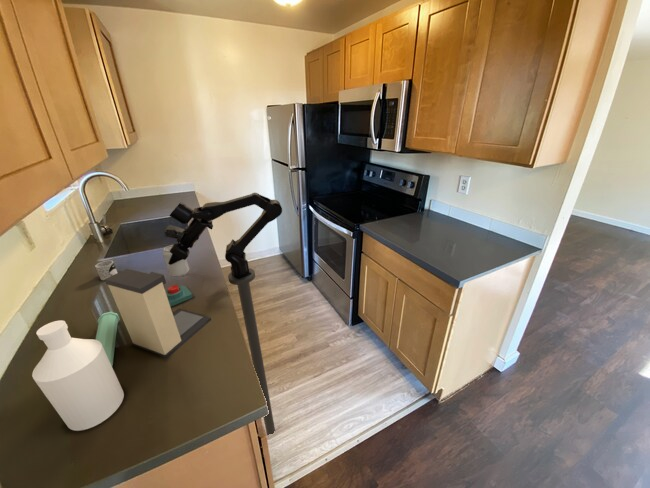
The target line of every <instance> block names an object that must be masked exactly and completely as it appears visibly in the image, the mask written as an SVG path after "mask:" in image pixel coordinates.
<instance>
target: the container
mask: <svg viewBox="0 0 650 488" xmlns="http://www.w3.org/2000/svg"><path fill="white" fill-rule="evenodd" d="M120 320H121V319H120V316H119V314H118V313H116V312H113V311H107V312H104V313H101V314H100V315H99V317H98V319H97V323H98V326H97V330H96V335H95V339H94V340H98V341H100V343H101V344H102V346H103V348H104V350H105V353H106V355H107V357H108V359H109V361H110V364H111V366H112V367H113V364H114V357H115V347H116V339H117V332H118V323H119V322H120Z"/></svg>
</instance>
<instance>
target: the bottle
mask: <svg viewBox="0 0 650 488" xmlns="http://www.w3.org/2000/svg"><path fill="white" fill-rule="evenodd" d="M68 328H69V326H68V324H67V322H66V321H65V320H62V319H61V320H54V321H51V322H49V323H46V324H44V325H43V326H41V327H40V328H38V329H37V330H36V335H37V337H38V339H39V340H40V341H43V343H44V344H45V346H46V347H47V349H46V351H45V353H44V354H43V355H42V357H41V359H40V360H39V362H38V363H37V364H36V365H35V367H34V368H33V371H32V373H31V376H32V379H33V380H34V382H35V383H36V385H37V386H38V388H39V389H40V390H41V392H42V393H43V395H44V396H45V397H46V399H47V400H48V402H49V403H50V404H51V405H52V407H53V409H54V410H55V411H56V412H57V414H58V415H59V417H60V419H62V421H63V422H64V424H65V425H66V426H67V428H68V429H70V430H72V431H76V432H79V431H85V430H88V429H89V430H90V429H91V428H94V427H96V426H98V425H99V424H102V423H103V422H104V421H106V420H107V419H109V418H110V417H111V416H112V415H113V414H114V413H116V411H117V410H118V409H119V408H120V406H121V404H122V403H123V400H124V397H125V393H124V390H123V387H122V386H121V383H120V381H119V379H118V376H117V374H116V372H115V370H114V368H113V366H111V364H110V361H109V359H108V357H107V355H106V353H105V350H104V348H103V346H102V344H101V343H100V341H98V340H95V339H93V338H77V337H72V336H71V334H70V332H69V330H68Z"/></svg>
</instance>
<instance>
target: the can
mask: <svg viewBox="0 0 650 488" xmlns="http://www.w3.org/2000/svg"><path fill="white" fill-rule="evenodd" d="M173 245H174V244H170V245H167V246H165V247H164V248H163V250H162V251H163V252H162V256H163V260H164V262H165V263H164V264H165V266H166V269H167V272H168V275H169V276H171V277H174V278H181V277H183V276H185V275H187V274H188V273H189V271H190V267H189V263H188V260H187V259H186V260H183V259H182V260H180V261H178V262H176V263H174V264H172V265H170V264H168V263H169V260H170V258H171V256H172V253H170V249H171V248H172V246H173Z"/></svg>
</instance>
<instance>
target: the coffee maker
mask: <svg viewBox="0 0 650 488" xmlns="http://www.w3.org/2000/svg"><path fill="white" fill-rule="evenodd" d="M103 281H104V282H105V284H106V285H107V286H108V288H109V291H110V293H111V295H112V297H113V300H114V302H115V304H116V307H117V309H118V312H119V314H120V316H121V319H122V320H123V323H124V326H125V328H126V331H127V333H128V335H129V337H130V340H131V344H132V346H133V347H137V348H139V349H142V350H145V351H147V352H150V353H152V354H155V355H157V356H160V357H163V358H166V359H169V358H170V357H171V356H172V355H173V354H174V353H175V352H177V350H178V349H180V348H181V347H182V346H183V345H184V344H186V343H187V342H188V341H189V340H190V339H191V338H193V337H194V336H195V335H196V334H197V333H198V332H199V331H200V330H202V329H203V328H204V327H205V326H206V325H208V324H209V323H210V322H211V321H212V317H210V316H207V315H204V314H200V313H196V312H193V311H190V310H186V309H183V308H177V309H176V310H174V311H173V310H172V308H171V307H172V306H171V307H170V304H169V301H168V298H167V295H166V292H165V291H166V289H165V286H164V285H166V284H167V280H166V277H165V275H164V274H163V273H157V272H155V271H154V272H153V271H151V272H150V273H148V272H143V271H139V270H136V269H131V268H125V269H123V270H121V271H119V272H118V273H117V274H115V275H113V276H111V277H109V278H106V279H104V280H103Z"/></svg>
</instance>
